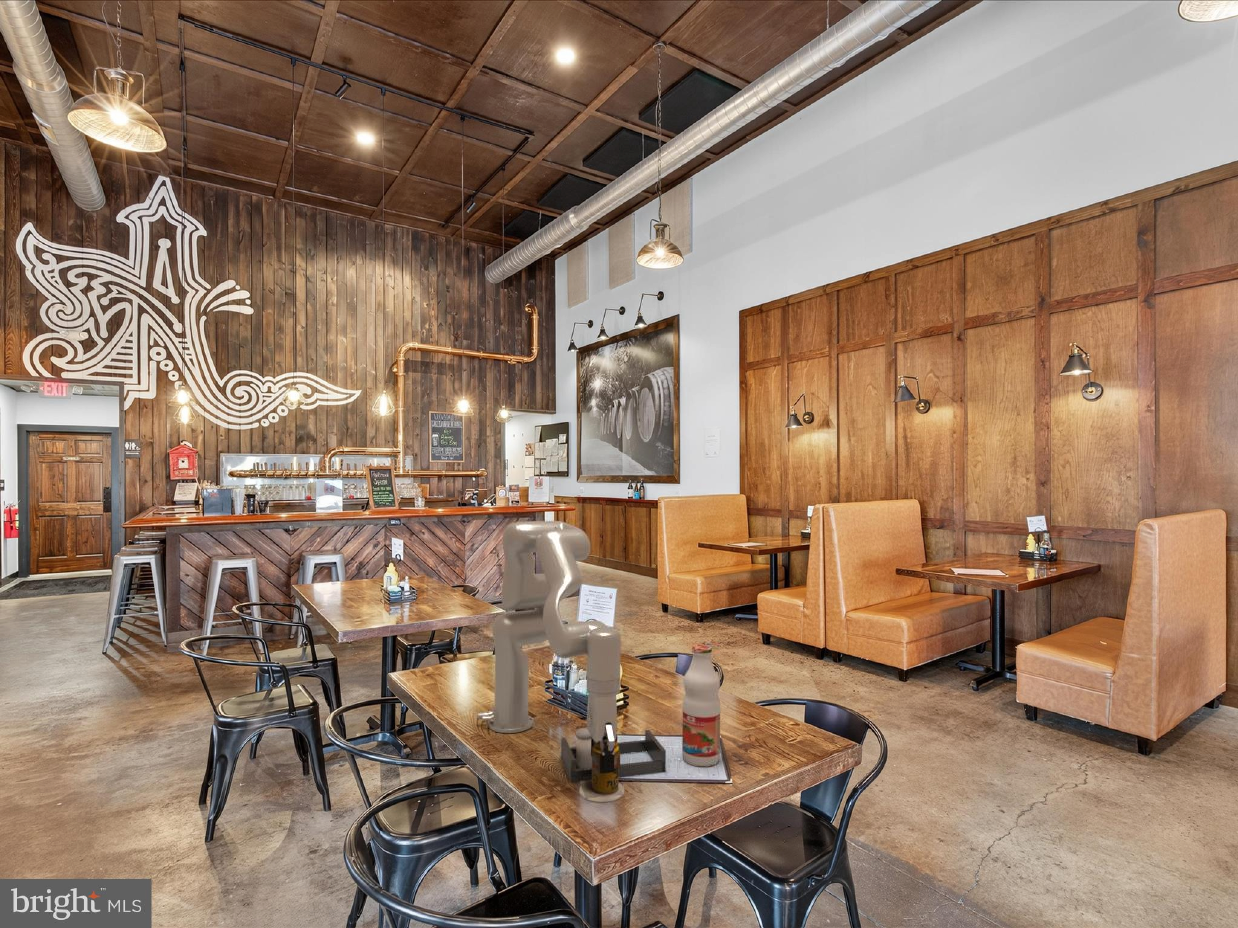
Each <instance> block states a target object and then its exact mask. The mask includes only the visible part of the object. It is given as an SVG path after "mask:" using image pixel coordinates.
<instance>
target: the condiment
mask: <svg viewBox="0 0 1238 928" xmlns="http://www.w3.org/2000/svg"><path fill="white" fill-rule="evenodd" d="M603 739H607V737H603ZM614 741H615V745H614V748H615V749H614V751H615V754H614V772H611V773H602V774H601V773H600V771H599V764H600V754H601V746H600V741H598V743H596V742H595V741H594V746H593V748H592V766H591V767H592V780H591V781H580V782H579V783H580V786H581V787H582V790H583V792H584V795H585V798H588V797H597V796H610V795H620V794H623V792H622V790H621V788H620V786H619V783H620V782H619V778H620V777H619V747H618V745H617V744H618V743H619V742H618V735H617V736H616V739H615V740H614ZM606 745H607V743H604V748H605V746H606ZM592 792H593V793H592ZM623 795H624V794H623ZM585 798H584V799H585Z"/></svg>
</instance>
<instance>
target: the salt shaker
mask: <svg viewBox="0 0 1238 928" xmlns="http://www.w3.org/2000/svg"><path fill="white" fill-rule="evenodd" d="M575 733H576V734H575V735H576V736H575V737H576V747H577V748H576V759H575V766H576V767H578V768H579V769H581V768H590V767H592V756H591V739H593V738H592V737H591V735H590V733H589V731H588V729H587V727H581V728H578V729H577V730H576V731H575Z"/></svg>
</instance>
